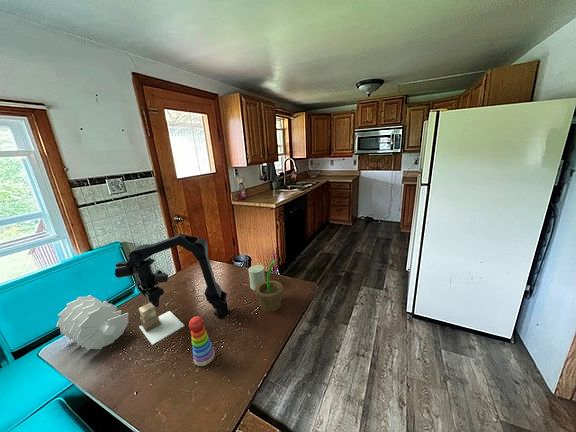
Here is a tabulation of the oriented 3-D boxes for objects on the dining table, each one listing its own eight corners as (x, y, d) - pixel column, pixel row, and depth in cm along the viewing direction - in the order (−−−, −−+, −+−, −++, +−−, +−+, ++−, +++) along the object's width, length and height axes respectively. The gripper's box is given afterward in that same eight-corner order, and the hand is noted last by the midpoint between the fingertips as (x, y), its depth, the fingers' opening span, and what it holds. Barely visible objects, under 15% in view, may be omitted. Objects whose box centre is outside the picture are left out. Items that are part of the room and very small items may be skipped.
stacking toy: (208, 346, 95) (200, 307, 90) (219, 356, 90) (211, 315, 85) (189, 360, 89) (180, 319, 84) (200, 371, 84) (191, 328, 79)
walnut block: (160, 324, 108) (158, 315, 107) (146, 332, 104) (143, 323, 103) (155, 319, 112) (153, 310, 111) (142, 326, 108) (139, 317, 107)
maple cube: (144, 322, 104) (142, 312, 102) (141, 317, 107) (138, 308, 105) (156, 315, 107) (154, 306, 106) (152, 311, 110) (150, 302, 109)
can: (247, 289, 133) (245, 271, 129) (254, 281, 141) (252, 263, 138) (262, 291, 130) (260, 272, 127) (268, 282, 138) (266, 264, 135)
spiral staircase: (105, 360, 96) (74, 341, 106) (139, 320, 108) (108, 306, 118) (71, 343, 84) (39, 323, 95) (112, 300, 96) (80, 286, 106)
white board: (184, 326, 107) (184, 325, 107) (152, 345, 97) (151, 344, 97) (169, 311, 118) (169, 310, 118) (139, 327, 108) (139, 326, 108)
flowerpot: (286, 312, 112) (282, 256, 103) (257, 317, 110) (250, 260, 102) (282, 295, 125) (278, 244, 117) (256, 299, 123) (250, 247, 115)
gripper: (172, 271, 102) (179, 301, 106) (156, 261, 114) (163, 288, 118) (144, 283, 94) (153, 315, 98) (130, 270, 106) (139, 299, 110)
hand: (153, 303), depth 107 cm, fingers open, 9 cm apart
